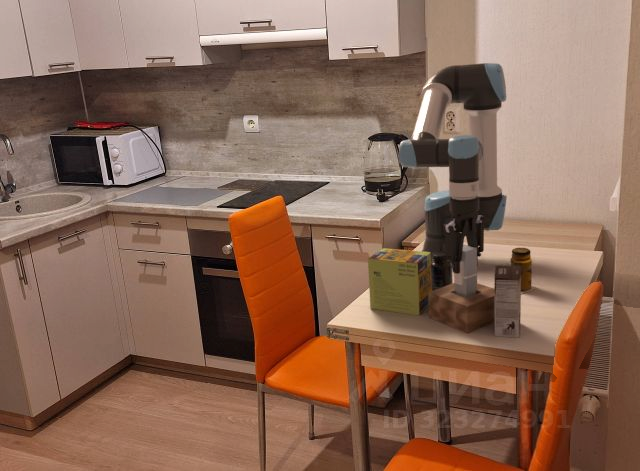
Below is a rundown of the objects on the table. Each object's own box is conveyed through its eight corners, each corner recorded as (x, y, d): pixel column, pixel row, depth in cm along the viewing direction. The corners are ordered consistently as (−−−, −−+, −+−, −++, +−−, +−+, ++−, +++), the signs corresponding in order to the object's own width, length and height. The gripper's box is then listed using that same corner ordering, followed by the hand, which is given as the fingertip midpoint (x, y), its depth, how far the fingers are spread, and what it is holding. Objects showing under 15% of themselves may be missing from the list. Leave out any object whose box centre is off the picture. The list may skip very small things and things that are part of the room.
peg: (466, 301, 177) (465, 251, 173) (454, 297, 181) (453, 248, 177) (477, 297, 180) (476, 247, 176) (465, 293, 183) (464, 244, 179)
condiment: (537, 288, 198) (538, 249, 195) (518, 295, 194) (518, 256, 191) (518, 282, 204) (518, 244, 201) (499, 289, 200) (499, 251, 197)
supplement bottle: (435, 285, 207) (434, 248, 203) (456, 288, 203) (455, 251, 200) (425, 293, 201) (424, 255, 198) (446, 296, 198) (445, 258, 194)
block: (429, 317, 184) (428, 292, 182) (465, 303, 191) (464, 279, 189) (467, 333, 173) (467, 306, 170) (503, 317, 180) (503, 291, 178)
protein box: (420, 316, 186) (418, 263, 181) (369, 309, 193) (366, 258, 189) (433, 302, 194) (431, 251, 190) (384, 296, 202) (381, 247, 197)
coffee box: (495, 322, 178) (495, 264, 173) (520, 323, 176) (521, 265, 172) (493, 336, 170) (493, 276, 165) (520, 338, 168) (520, 277, 163)
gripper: (450, 205, 165) (452, 293, 171) (498, 192, 174) (498, 276, 181) (429, 200, 171) (432, 286, 177) (476, 188, 180) (477, 270, 187)
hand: (465, 281), depth 179 cm, fingers closed on peg, 4 cm apart
